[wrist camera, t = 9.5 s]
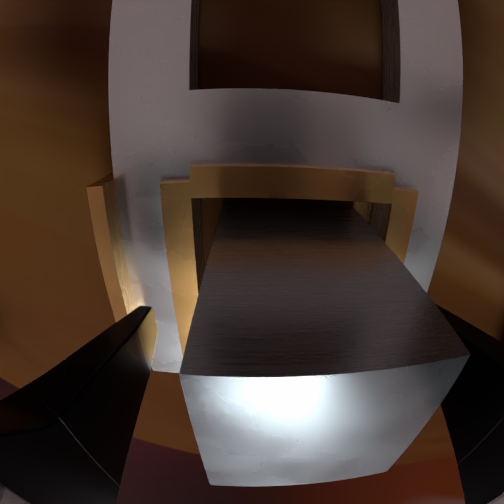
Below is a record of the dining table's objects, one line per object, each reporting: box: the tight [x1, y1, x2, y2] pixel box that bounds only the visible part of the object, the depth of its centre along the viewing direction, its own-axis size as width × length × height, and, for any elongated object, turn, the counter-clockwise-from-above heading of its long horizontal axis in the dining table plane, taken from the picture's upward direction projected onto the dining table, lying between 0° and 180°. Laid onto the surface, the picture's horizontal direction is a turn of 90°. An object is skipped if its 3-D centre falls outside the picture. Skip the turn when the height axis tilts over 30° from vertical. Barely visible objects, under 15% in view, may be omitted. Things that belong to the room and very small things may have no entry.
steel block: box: [179, 205, 471, 486], centre depth 9 cm, size 5×5×8 cm
